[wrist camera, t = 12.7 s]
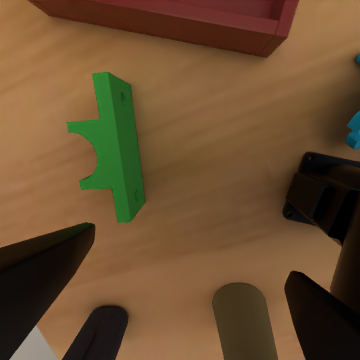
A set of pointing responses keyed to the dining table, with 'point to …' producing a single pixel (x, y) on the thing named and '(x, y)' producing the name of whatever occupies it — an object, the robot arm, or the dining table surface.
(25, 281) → the robot arm
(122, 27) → the open red box
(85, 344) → the two-way radio
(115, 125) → the pipe clamp
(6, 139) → the dining table surface
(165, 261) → the dining table surface
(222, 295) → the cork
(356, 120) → the blue toy dinosaur
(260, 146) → the dining table surface
